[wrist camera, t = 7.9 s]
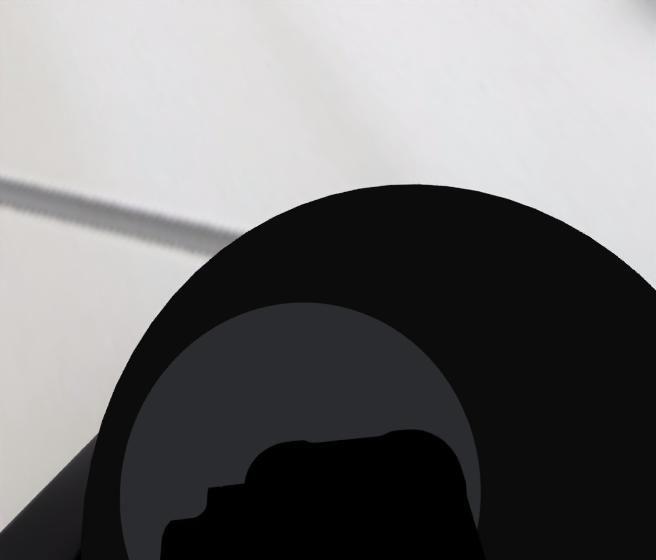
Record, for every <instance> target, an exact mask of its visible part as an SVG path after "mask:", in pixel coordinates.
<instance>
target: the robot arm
mask: <svg viewBox="0 0 656 560" xmlns="http://www.w3.org/2000/svg"><path fill="white" fill-rule="evenodd" d="M98 434H99V433H98ZM98 434H97V435H96V436H95V437H94V438H93V439H92V440H91V441H90V442H89V443H88V444H87V445H86V446H85V447H84V448H83V449H82V450H81V451H80V452H79V453H78V454H77V455H76V456H75V457H74V458H73V459H72V460H71V461H70V462H69V463H68V464H67V465H66V466H65V467H64V468H63V469H62V470H61V471H60V472H59V473H58V475H57V476H56V477H55V478H54V479H53V480H52V481H51V482H50V483H49V484H48V485H47V486H46V487H45V488H44V489H43V490H42V491H41V492H40V493H39V494H38V495H37V496H36V497H35V498H34V499H33V500H32V501H31V502H30V503H29V504H28V505H27V506H26V507H25V508H24V509H23V510H22V511H21V512H20V513H19V514H18V515H17V516H16V517H15V518H14V519H13V520H12V521H11V522H10V523H9V524H8V525H7V526H6V527H5V528H4V529H3V530H2V531H1V532H0V560H81V532H82V520H83V508H84V497H85V491H86V486H87V480H88V475H89V469H90V464H91V458H92V455H93V451H94V448H95V444H96V441H97V437H98Z"/></svg>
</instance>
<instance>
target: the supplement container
mask: <svg viewBox="0 0 656 560" xmlns="http://www.w3.org/2000/svg"><path fill="white" fill-rule="evenodd" d="M81 560H656V290H655V289H654V288H653V287H652V286H651V285H650V284H649V283H648V282H647V281H646V280H645V279H644V278H643V277H642V276H641V275H640V274H638V273H637V272H636V271H635V270H633V269H632V268H631V267H630V266H629V265H627V264H626V263H625V262H624V261H622V260H621V259H620V258H619V257H618V256H616V255H615V254H614V253H612V252H611V251H609V250H608V249H607V248H605V247H604V246H602V245H601V244H599V243H598V242H596V241H595V240H593V239H592V238H591V237H589V236H587V235H586V234H584V233H582V232H580V231H579V230H577V229H575V228H573V227H572V226H570V225H568V224H566V223H564V222H563V221H561V220H558V219H556V218H554V217H552V216H550V215H548V214H545V213H543V212H541V211H539V210H537V209H535V208H532V207H529V206H526V205H523V204H520V203H518V202H515V201H512V200H509V199H506V198H503V197H499V196H495V195H491V194H487V193H483V192H479V191H474V190H468V189H462V188H456V187H449V186H437V185H422V184H411V185H386V186H378V187H369V188H361V189H356V190H352V191H347V192H343V193H338V194H334V195H330V196H326V197H323V198H320V199H317V200H314V201H311V202H308V203H305V204H302V205H300V206H297V207H295V208H293V209H291V210H288V211H286V212H284V213H282V214H279V215H277V216H275V217H273V218H271V219H269V220H267V221H266V222H264V223H262V224H260V225H259V226H257V227H255V228H253V229H251V230H250V231H248V232H246V233H245V234H243V235H242V236H241V237H239V238H238V239H236V240H235V241H233V242H232V243H231V244H229V245H228V246H226V247H225V248H223V249H222V250H221V251H219V252H218V253H217V254H216V255H215V256H214V257H212V258H211V259H210V260H209V261H208V262H207V263H205V264H204V265H203V266H202V267H201V268H200V269H198V270H197V271H196V272H195V273H194V274H193V275H192V276H191V277H190V278H189V279H188V281H187V282H186V283H185V284H184V285H183V286H182V287H181V288H180V289H179V290H178V291H177V292H176V293H175V294H174V295H173V296H172V298H171V299H170V300H169V301H168V303H167V304H166V305H165V306H164V308H163V309H162V310H161V312H160V313H159V314H158V315H157V317H156V318H155V319H154V321H153V322H152V323H151V325H150V326H149V328H148V329H147V331H146V333H145V334H144V336H143V337H142V339H141V340H140V342H139V344H138V345H137V347H136V348H135V350H134V351H133V353H132V355H131V357H130V359H129V361H128V363H127V365H126V367H125V369H124V371H123V373H122V375H121V377H120V379H119V381H118V382H117V384H116V387H115V389H114V392H113V394H112V397H111V399H110V402H109V405H108V407H107V410H106V412H105V415H104V417H103V420H102V423H101V427H100V430H99V434H98V437H97V441H96V444H95V448H94V451H93V455H92V458H91V464H90V469H89V475H88V480H87V486H86V491H85V497H84V508H83V520H82V532H81Z"/></svg>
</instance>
